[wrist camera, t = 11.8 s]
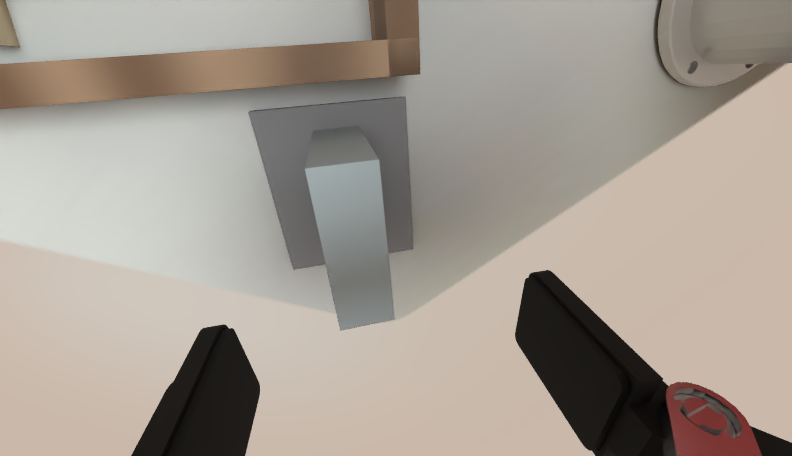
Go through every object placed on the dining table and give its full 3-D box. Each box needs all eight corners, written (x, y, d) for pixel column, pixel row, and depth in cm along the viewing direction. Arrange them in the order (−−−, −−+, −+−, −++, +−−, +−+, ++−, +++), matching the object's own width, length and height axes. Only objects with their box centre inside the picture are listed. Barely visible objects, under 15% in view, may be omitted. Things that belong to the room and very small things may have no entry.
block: (358, 125, 20) (379, 159, 12) (372, 240, 24) (394, 319, 17) (313, 130, 20) (304, 168, 12) (335, 246, 24) (340, 330, 16)
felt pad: (403, 96, 20) (405, 97, 20) (411, 245, 26) (413, 249, 26) (250, 110, 19) (248, 112, 18) (294, 265, 25) (293, 269, 24)
